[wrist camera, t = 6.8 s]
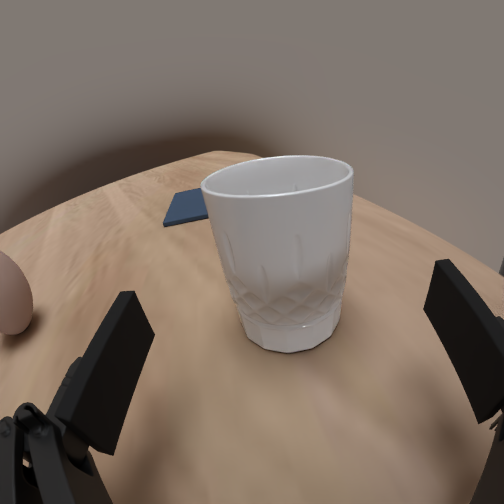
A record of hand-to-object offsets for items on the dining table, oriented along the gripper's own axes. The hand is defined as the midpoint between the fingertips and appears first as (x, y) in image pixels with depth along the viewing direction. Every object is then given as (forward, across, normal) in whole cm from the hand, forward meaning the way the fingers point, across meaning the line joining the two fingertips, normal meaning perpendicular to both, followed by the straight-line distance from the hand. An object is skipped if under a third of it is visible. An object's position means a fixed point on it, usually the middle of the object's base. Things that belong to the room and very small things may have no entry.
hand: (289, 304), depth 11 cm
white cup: (+6, 0, -6) cm, 8 cm away
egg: (+4, -26, -6) cm, 27 cm away
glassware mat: (+32, -9, -6) cm, 34 cm away
